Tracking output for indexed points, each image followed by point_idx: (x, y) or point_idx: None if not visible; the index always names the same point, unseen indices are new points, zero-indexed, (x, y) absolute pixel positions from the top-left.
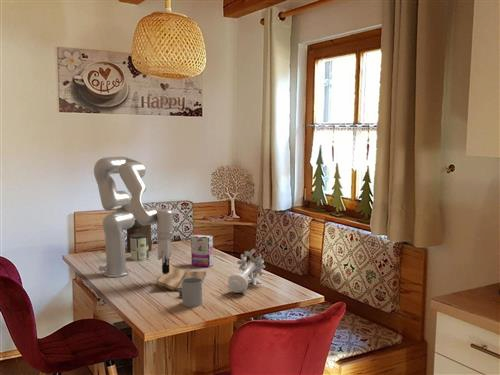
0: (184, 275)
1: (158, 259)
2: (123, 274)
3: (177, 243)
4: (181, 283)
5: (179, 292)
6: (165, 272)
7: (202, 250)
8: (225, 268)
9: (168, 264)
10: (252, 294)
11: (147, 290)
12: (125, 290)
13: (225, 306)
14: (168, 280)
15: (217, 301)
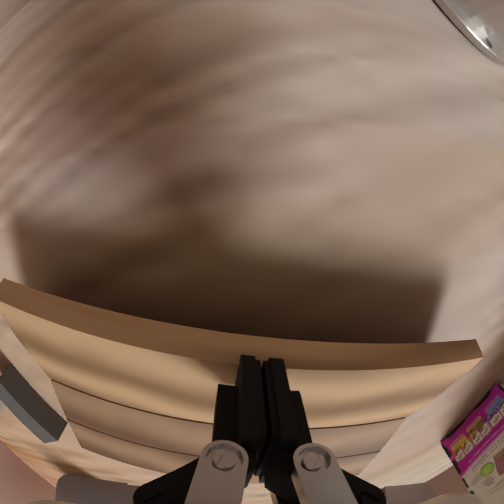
0: (325, 430)
1: (39, 501)
2: (449, 9)
3: None
4: (132, 417)
5: (2, 373)
6: (235, 384)
7: (490, 465)
8: (396, 478)
9: (261, 479)
10: None
11: (47, 188)
12: (81, 30)
13: (7, 433)
14: (90, 370)
15: (24, 436)
